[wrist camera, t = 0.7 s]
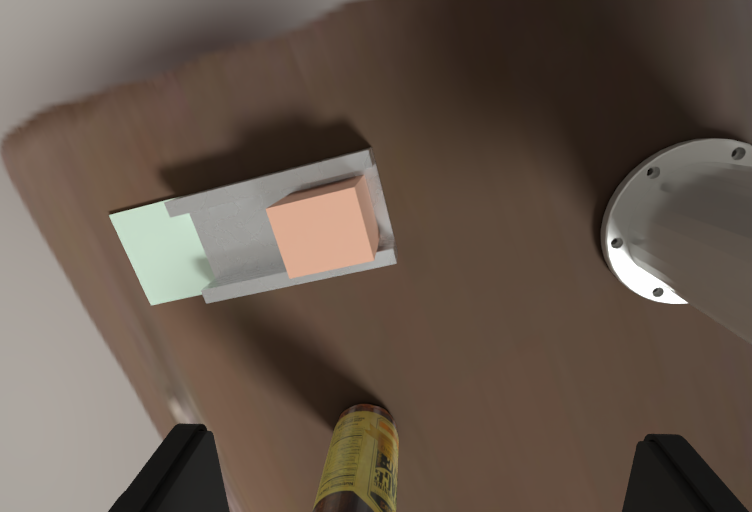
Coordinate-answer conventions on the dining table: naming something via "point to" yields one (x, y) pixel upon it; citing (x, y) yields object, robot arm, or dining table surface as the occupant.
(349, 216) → the block
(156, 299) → the pad
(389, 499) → the sauce bottle
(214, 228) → the chute
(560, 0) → the dining table surface
